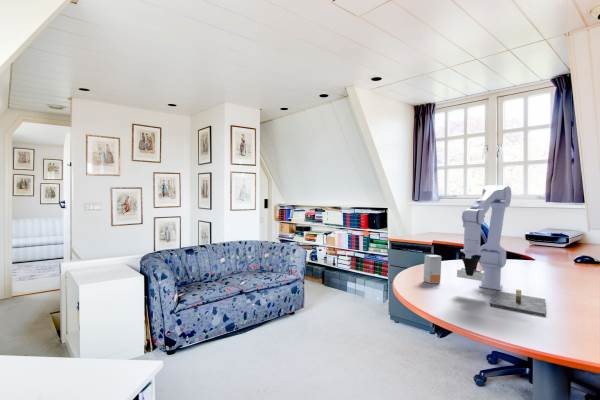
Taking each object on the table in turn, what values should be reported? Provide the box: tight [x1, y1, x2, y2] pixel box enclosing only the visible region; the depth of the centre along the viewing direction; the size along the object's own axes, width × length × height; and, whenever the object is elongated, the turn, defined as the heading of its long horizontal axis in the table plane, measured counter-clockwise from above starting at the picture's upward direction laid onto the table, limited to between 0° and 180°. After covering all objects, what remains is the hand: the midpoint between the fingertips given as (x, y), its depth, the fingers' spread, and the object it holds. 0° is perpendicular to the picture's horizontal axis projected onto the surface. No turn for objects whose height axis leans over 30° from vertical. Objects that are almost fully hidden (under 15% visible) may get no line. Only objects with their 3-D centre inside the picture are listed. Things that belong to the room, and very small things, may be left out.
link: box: [456, 267, 485, 282], centre depth 130 cm, size 9×5×3 cm, turn 53°
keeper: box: [489, 289, 547, 318], centre depth 122 cm, size 20×16×5 cm
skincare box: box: [423, 254, 443, 284], centre depth 149 cm, size 6×4×12 cm
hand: (470, 274), depth 130 cm, fingers closed on link, 5 cm apart
